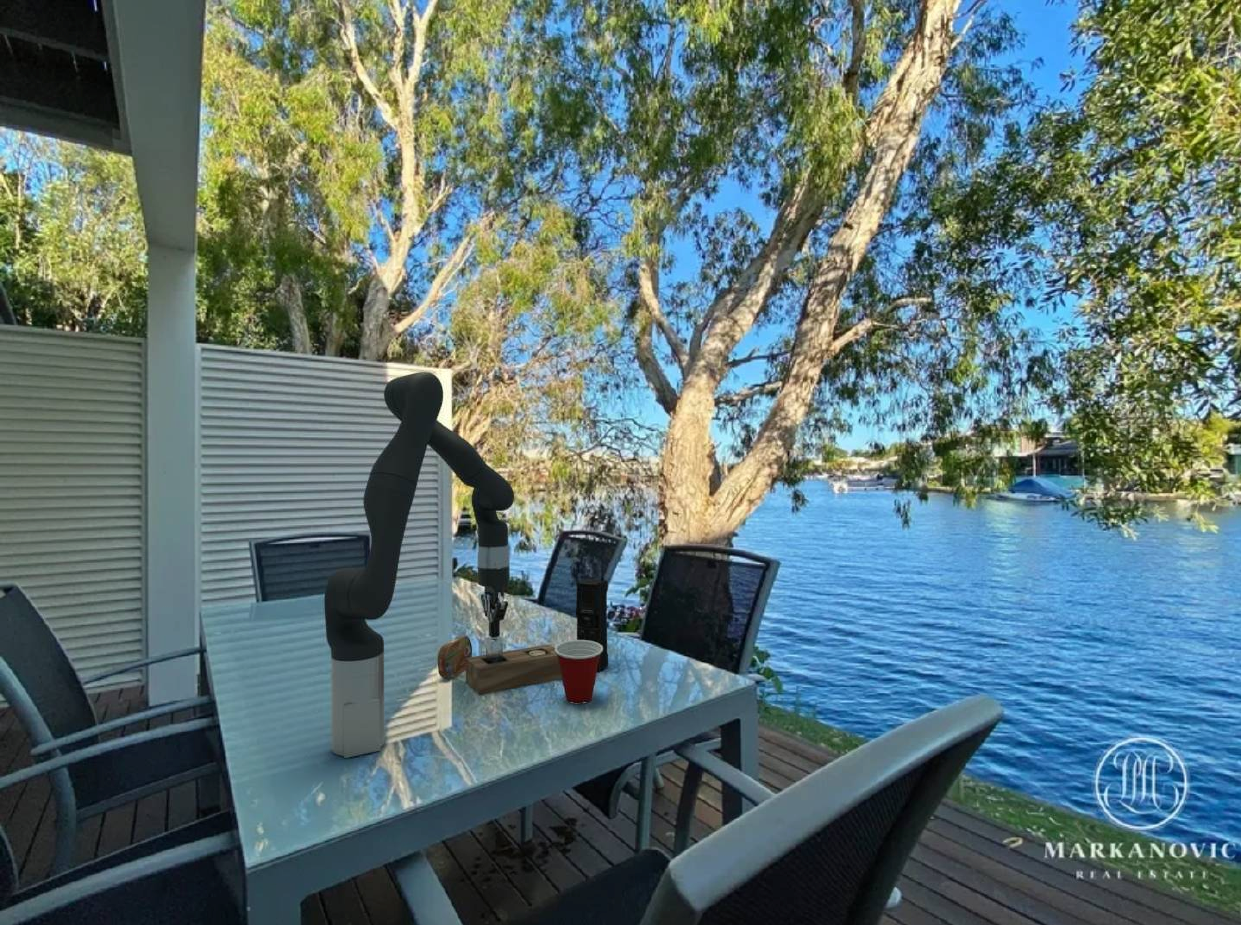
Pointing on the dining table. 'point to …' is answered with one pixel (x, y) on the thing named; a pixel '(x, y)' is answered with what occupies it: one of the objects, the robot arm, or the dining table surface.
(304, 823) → the dining table surface
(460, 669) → the tin
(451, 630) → the dining table surface
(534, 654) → the birch peg
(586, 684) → the plastic cup
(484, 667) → the collar block
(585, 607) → the portable radio
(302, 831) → the dining table surface
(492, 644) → the steel peg
